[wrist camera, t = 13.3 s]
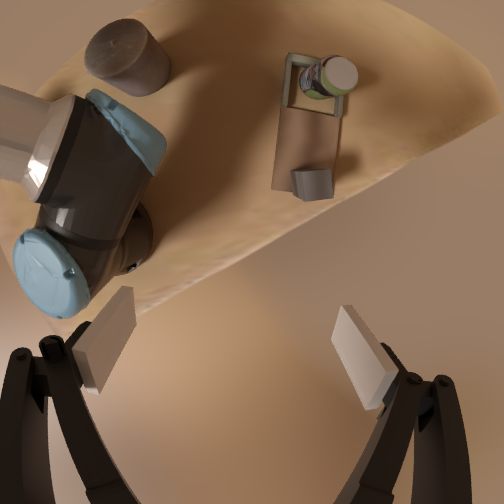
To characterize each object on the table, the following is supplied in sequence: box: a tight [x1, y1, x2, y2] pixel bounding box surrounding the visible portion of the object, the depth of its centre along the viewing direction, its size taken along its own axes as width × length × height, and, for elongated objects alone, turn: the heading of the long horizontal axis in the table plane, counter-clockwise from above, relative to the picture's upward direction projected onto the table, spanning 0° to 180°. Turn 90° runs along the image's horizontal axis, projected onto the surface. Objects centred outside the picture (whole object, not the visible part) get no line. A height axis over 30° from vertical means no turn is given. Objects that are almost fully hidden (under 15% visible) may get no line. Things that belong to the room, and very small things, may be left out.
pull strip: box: [271, 53, 344, 202], centre depth 36 cm, size 10×24×10 cm, turn 174°
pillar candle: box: [84, 19, 171, 97], centre depth 29 cm, size 10×10×15 cm
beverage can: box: [299, 55, 358, 99], centre depth 33 cm, size 6×7×12 cm
